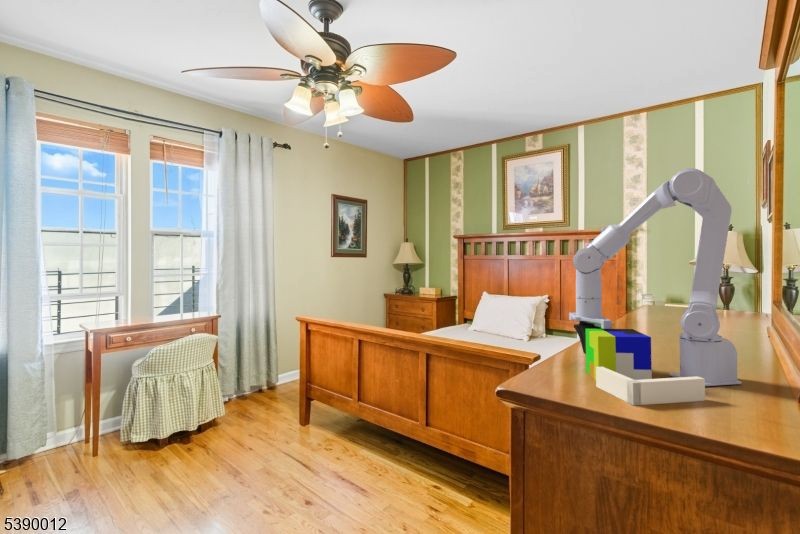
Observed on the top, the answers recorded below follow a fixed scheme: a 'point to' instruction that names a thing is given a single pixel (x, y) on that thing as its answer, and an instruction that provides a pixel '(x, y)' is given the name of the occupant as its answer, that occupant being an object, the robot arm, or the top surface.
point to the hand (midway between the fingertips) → (589, 353)
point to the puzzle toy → (619, 352)
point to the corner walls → (650, 388)
